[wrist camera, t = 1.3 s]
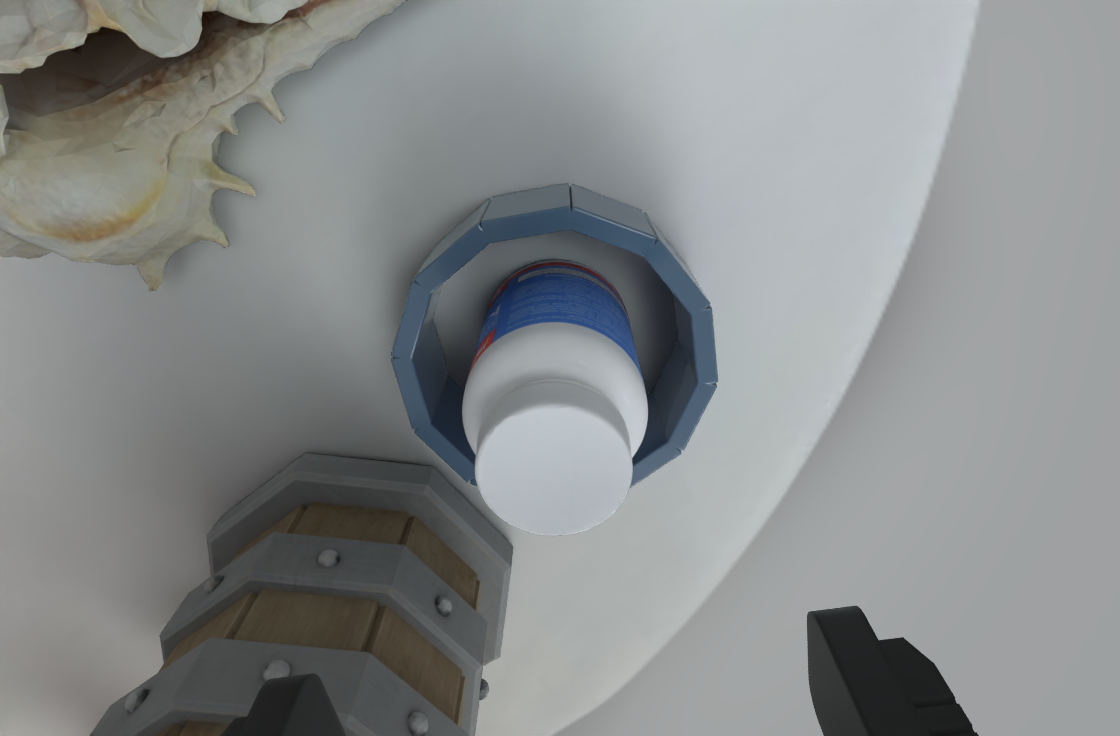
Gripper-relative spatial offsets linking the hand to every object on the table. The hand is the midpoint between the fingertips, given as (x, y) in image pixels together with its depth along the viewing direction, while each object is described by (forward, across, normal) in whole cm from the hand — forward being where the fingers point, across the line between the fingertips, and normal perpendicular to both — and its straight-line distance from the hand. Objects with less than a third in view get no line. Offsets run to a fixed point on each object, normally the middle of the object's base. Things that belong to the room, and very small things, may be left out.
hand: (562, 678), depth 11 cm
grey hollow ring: (+16, 0, 0) cm, 16 cm away
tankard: (+16, +14, +12) cm, 25 cm away
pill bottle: (+16, 0, 0) cm, 16 cm away
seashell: (+16, +6, -11) cm, 20 cm away
